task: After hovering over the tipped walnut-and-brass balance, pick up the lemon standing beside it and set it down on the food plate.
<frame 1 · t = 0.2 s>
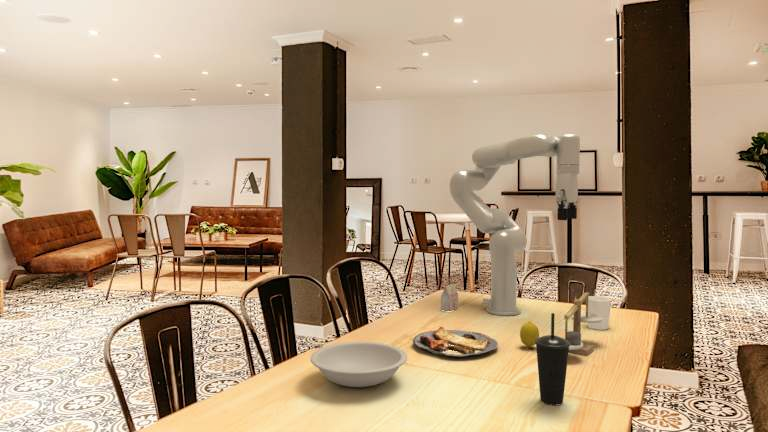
hand: (567, 219, 185), 37 cm above the table, tool pointing down, fingers open, 9 cm apart
lemon: (529, 348, 158), on the table
soup bowl: (359, 382, 132), on the table
balance: (576, 350, 155), on the table
white cup: (597, 327, 181), on the table
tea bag: (449, 310, 206), on the table
drinking cup: (551, 401, 119), on the table
food plate: (454, 348, 159), on the table
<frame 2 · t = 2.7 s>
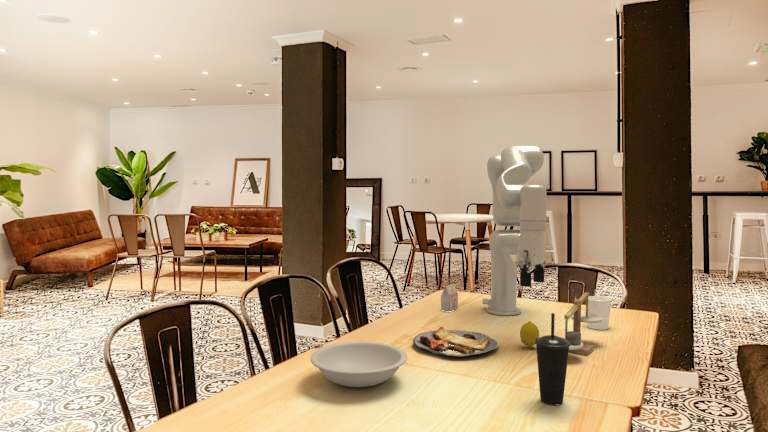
hand: (532, 284, 157), 19 cm above the table, tool pointing down, fingers open, 9 cm apart
nothing on the table moved.
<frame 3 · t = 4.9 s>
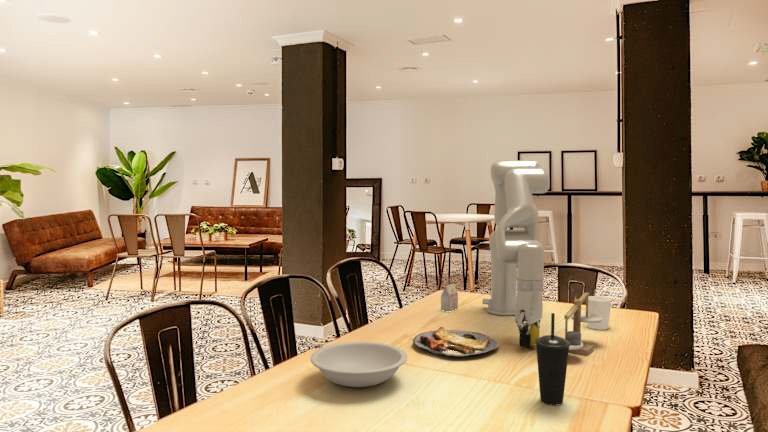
hand: (529, 343, 158), 1 cm above the table, tool pointing down, fingers closed on lemon, 5 cm apart
lemon: (529, 348, 158), on the table, touching gripper
everything else where it was.
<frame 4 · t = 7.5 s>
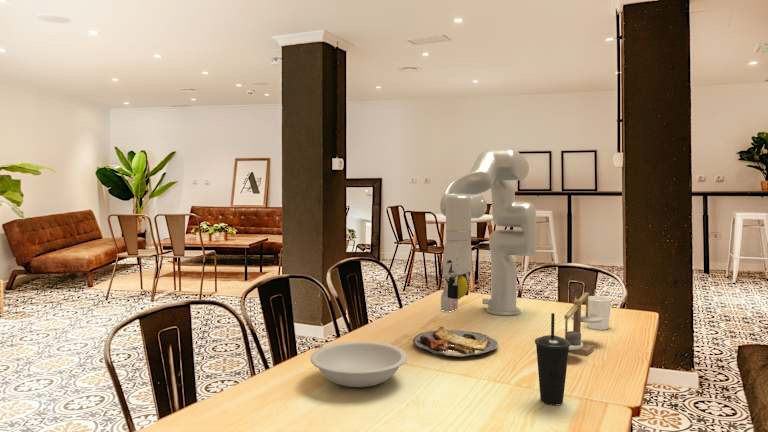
hand: (458, 295, 159), 15 cm above the table, tool pointing down, fingers closed on lemon, 5 cm apart
lemon: (458, 300, 159), point 14 cm above the table, touching gripper
everything else where it was.
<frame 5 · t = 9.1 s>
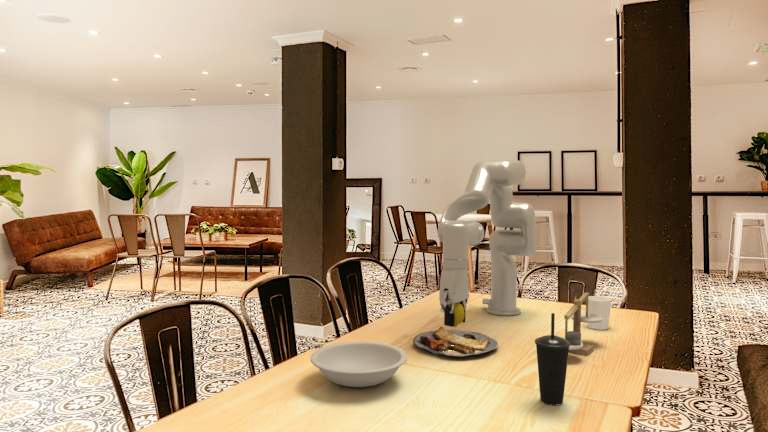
hand: (454, 323, 159), 7 cm above the table, tool pointing down, fingers closed on lemon, 5 cm apart
lemon: (455, 327, 159), point 6 cm above the table, touching gripper
everything else where it was.
when the fingers open (4 cm above the table, at t = 10.1 s): lemon drops 1 cm, resting on food plate.
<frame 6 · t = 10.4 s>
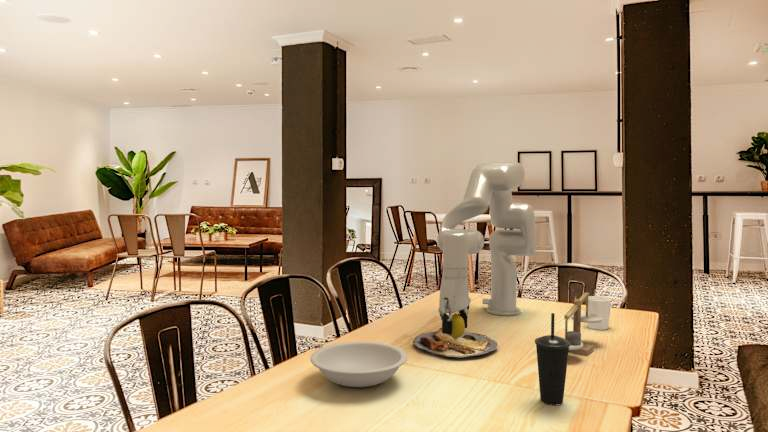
hand: (454, 330, 159), 5 cm above the table, tool pointing down, fingers open, 8 cm apart
lemon: (455, 340, 160), point 2 cm above the table, touching food plate
food plate: (454, 349, 160), on the table, touching lemon
everything else where it was.
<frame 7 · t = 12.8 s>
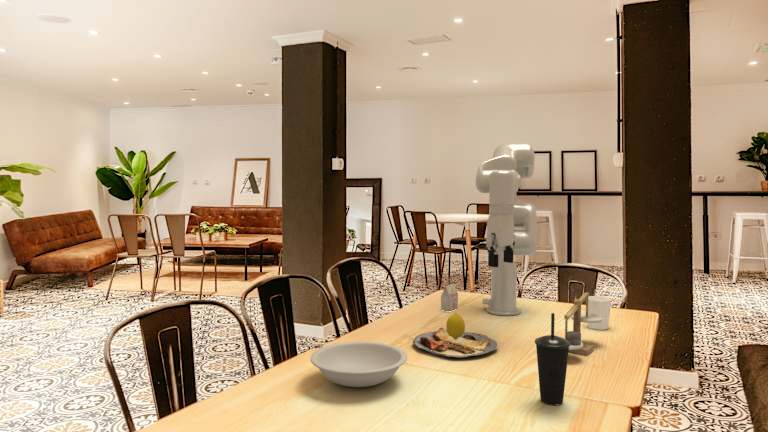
hand: (500, 264, 166), 24 cm above the table, tool pointing down, fingers open, 9 cm apart
nothing on the table moved.
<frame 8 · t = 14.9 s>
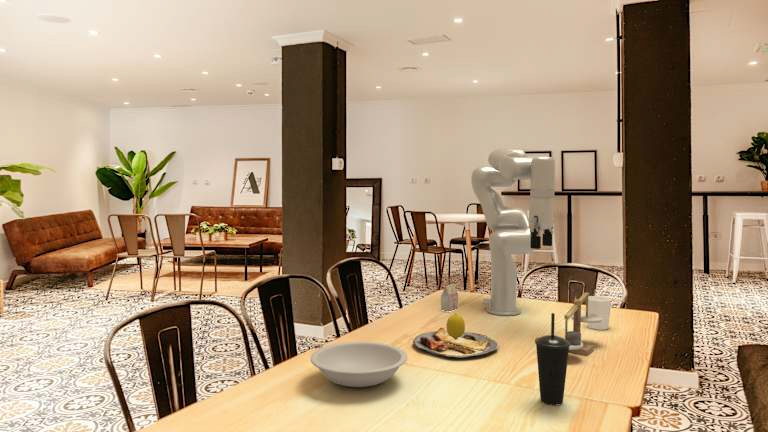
hand: (541, 247, 173), 28 cm above the table, tool pointing down, fingers open, 9 cm apart
nothing on the table moved.
at the end: lemon 0.2 cm from the food plate (horizontally); lemon point 1.9 cm above the table; the gripper is holding nothing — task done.
